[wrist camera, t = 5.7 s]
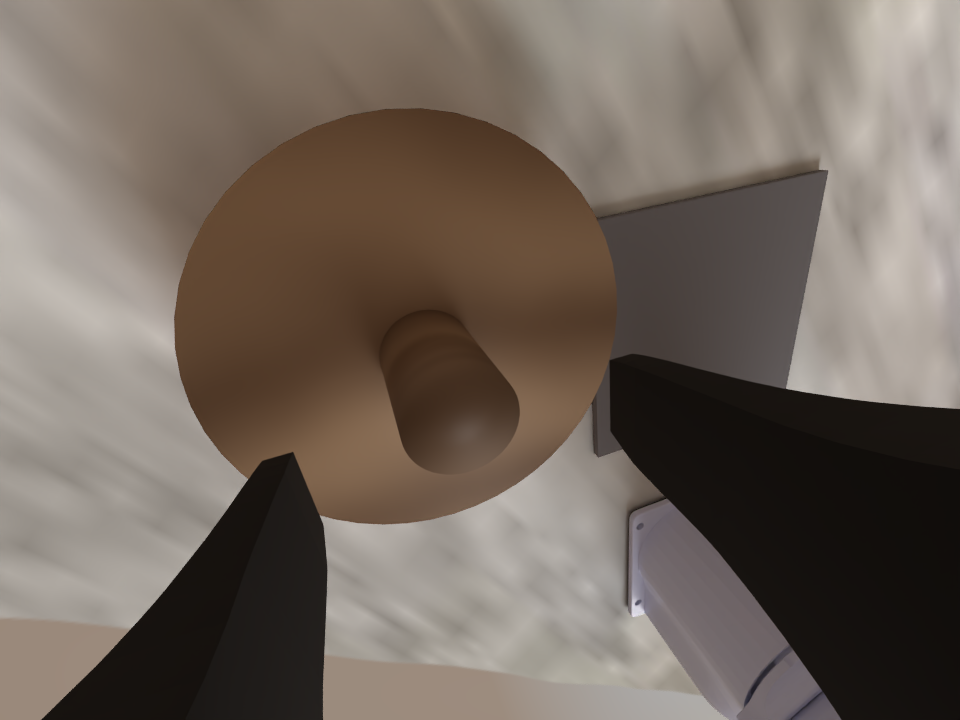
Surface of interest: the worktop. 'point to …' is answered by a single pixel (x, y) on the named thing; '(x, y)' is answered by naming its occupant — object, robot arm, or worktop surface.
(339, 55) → the worktop surface
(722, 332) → the mat
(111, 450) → the worktop surface
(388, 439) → the lid
